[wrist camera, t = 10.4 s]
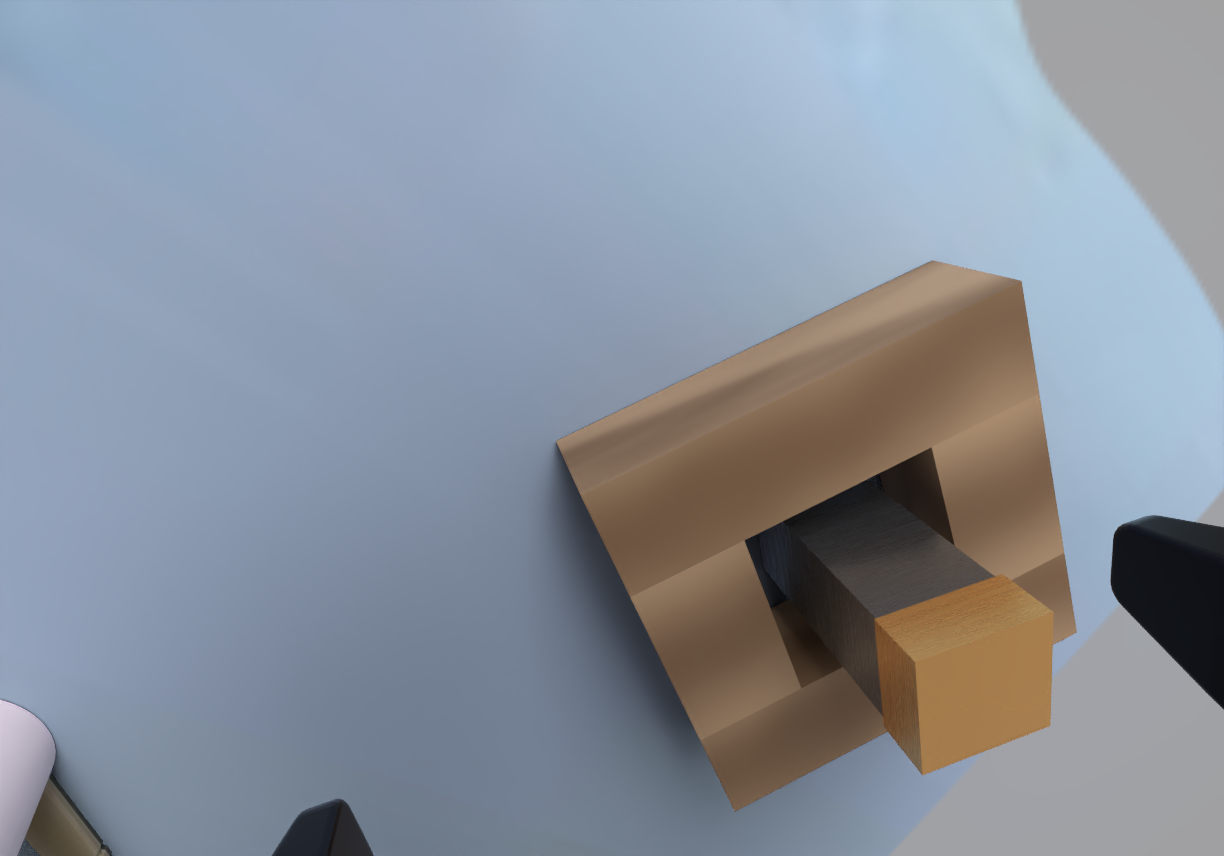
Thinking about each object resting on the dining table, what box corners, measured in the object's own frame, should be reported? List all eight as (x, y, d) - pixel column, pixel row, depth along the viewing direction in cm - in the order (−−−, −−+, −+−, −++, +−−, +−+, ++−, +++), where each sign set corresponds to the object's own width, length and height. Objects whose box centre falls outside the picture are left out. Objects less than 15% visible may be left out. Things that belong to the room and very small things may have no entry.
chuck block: (997, 573, 26) (1076, 632, 23) (695, 728, 26) (735, 811, 22) (932, 260, 22) (1021, 280, 18) (555, 440, 21) (580, 495, 18)
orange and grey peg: (842, 455, 23) (1053, 611, 15) (851, 541, 24) (1050, 725, 17) (747, 486, 23) (914, 662, 15) (761, 571, 24) (922, 775, 16)
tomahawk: (331, 903, 26) (331, 933, 25) (130, 996, 25) (122, 1031, 24) (-1, 346, 17) (-21, 358, 16) (-342, 439, 16) (-387, 459, 15)
